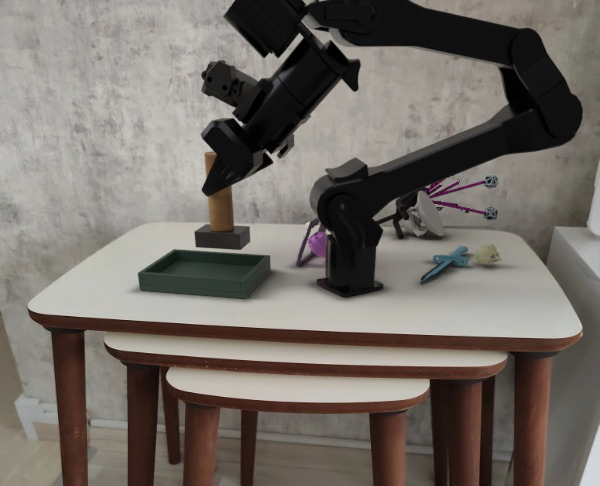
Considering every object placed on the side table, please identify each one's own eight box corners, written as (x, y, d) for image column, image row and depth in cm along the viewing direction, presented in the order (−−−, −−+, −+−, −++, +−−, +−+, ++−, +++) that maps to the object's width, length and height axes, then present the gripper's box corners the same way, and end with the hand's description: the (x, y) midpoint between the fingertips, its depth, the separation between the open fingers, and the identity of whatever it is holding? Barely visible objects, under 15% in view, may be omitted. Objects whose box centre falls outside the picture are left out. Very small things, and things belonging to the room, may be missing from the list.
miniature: (426, 188, 101) (401, 203, 103) (414, 192, 94) (387, 208, 97) (448, 232, 102) (422, 245, 104) (437, 239, 95) (410, 253, 98)
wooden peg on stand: (250, 241, 79) (246, 151, 73) (240, 250, 75) (235, 155, 70) (207, 239, 80) (199, 149, 74) (195, 247, 76) (186, 154, 71)
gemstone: (469, 260, 87) (472, 240, 86) (497, 261, 87) (501, 240, 85) (472, 267, 84) (475, 246, 83) (502, 267, 84) (505, 246, 83)
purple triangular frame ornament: (327, 206, 89) (305, 219, 82) (358, 220, 88) (339, 235, 81) (312, 247, 93) (290, 263, 86) (342, 261, 92) (323, 279, 85)
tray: (270, 271, 84) (270, 255, 83) (246, 299, 74) (245, 280, 73) (175, 264, 87) (173, 248, 85) (139, 290, 77) (137, 272, 76)
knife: (403, 284, 79) (439, 289, 77) (403, 275, 79) (440, 279, 76) (448, 251, 92) (481, 254, 89) (448, 243, 91) (481, 246, 89)
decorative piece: (344, 266, 105) (447, 209, 120) (407, 276, 95) (511, 213, 110) (329, 181, 98) (441, 132, 112) (395, 183, 88) (508, 128, 103)
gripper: (267, 34, 73) (191, 132, 81) (212, 28, 57) (124, 150, 65) (330, 106, 75) (250, 195, 83) (294, 120, 60) (199, 227, 67)
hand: (209, 190), depth 75 cm, fingers closed on wooden peg on stand, 3 cm apart
